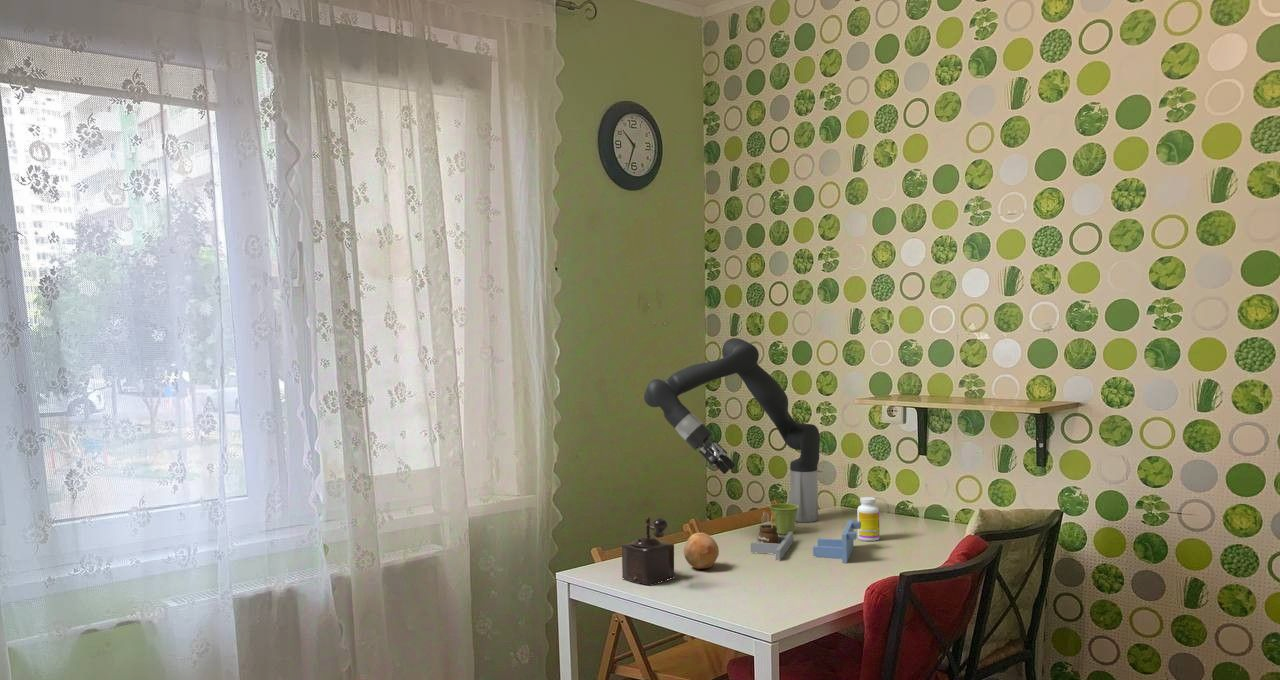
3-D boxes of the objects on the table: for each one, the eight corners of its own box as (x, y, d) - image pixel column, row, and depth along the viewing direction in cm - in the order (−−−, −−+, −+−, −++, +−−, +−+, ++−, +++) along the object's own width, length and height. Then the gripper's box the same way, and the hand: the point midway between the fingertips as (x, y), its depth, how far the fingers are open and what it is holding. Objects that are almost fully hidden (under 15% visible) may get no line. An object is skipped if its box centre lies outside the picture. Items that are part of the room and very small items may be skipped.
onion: (726, 568, 256) (726, 532, 256) (701, 575, 249) (700, 538, 249) (702, 562, 263) (701, 527, 263) (676, 568, 257) (676, 533, 256)
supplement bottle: (881, 541, 283) (881, 500, 283) (860, 541, 283) (859, 500, 283) (876, 536, 290) (876, 496, 290) (855, 536, 290) (855, 496, 290)
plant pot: (774, 528, 304) (774, 502, 304) (802, 530, 300) (802, 504, 300) (765, 534, 296) (765, 507, 296) (794, 537, 292) (793, 509, 291)
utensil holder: (770, 546, 280) (769, 507, 280) (783, 550, 275) (782, 510, 274) (754, 548, 277) (753, 509, 277) (767, 553, 272) (766, 512, 272)
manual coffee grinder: (619, 579, 247) (617, 513, 246) (647, 571, 255) (646, 506, 254) (661, 590, 236) (659, 521, 235) (689, 581, 244) (688, 514, 243)
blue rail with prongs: (811, 560, 262) (810, 532, 262) (820, 544, 281) (819, 518, 281) (855, 563, 258) (854, 535, 258) (861, 546, 277) (861, 520, 277)
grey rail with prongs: (746, 558, 266) (745, 548, 266) (762, 539, 289) (761, 530, 289) (779, 560, 263) (779, 550, 263) (793, 541, 286) (793, 531, 286)
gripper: (695, 425, 275) (733, 464, 271) (707, 420, 288) (743, 458, 285) (678, 442, 276) (716, 482, 273) (691, 437, 290) (727, 474, 287)
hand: (730, 469), depth 279 cm, fingers open, 8 cm apart
